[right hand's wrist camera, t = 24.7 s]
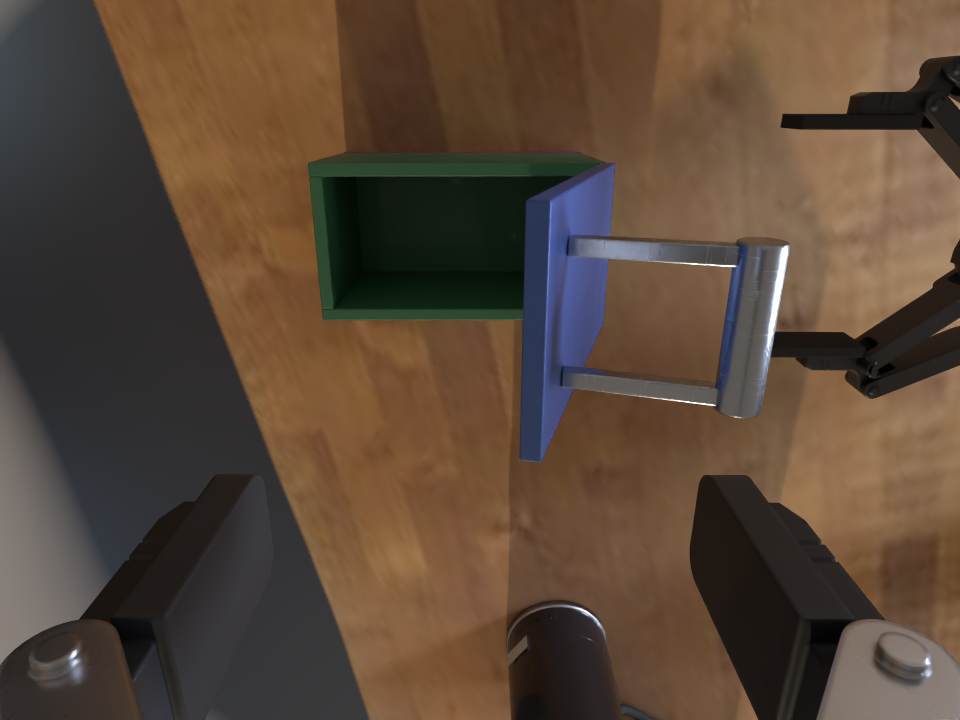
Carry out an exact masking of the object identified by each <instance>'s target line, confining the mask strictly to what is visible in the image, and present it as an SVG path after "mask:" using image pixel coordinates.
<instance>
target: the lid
mask: <svg viewBox="0 0 960 720" xmlns="http://www.w3.org/2000/svg"><path fill="white" fill-rule="evenodd" d="M614 174H615V164H614V163H600V164H598V165H596V166H594V167H592V168H590V169H588V170H586V171H584V172H582V173H580V174H578V175H576V176H574V177H572V178H570V179H568V180H566V181H564V182H562V183H560V184H558V185H556V186H554V187H552V188H550V189H548V190H546V191H544V192H542V193H540V194H538V195H536V196H534V197H532V198H530V199H528V200H527V201H526V215H525V256H524V297H523V338H522V380H521V421H520V459H521V460H525V461H531V462H537V463H541V461H542V459H543V457H544V455H545V453H546V450H547V448H548V446H549V444H550V441H551V439H552V437H553V435H554V432H555V430H556V428H557V426H558V424H559V421H560V419H561V417H562V415H563V412H564V410H565V408H566V406H567V403H568V401H569V399H570V397H571V394H572V392H573V390H574V389H581V390H589V391H597V392H605V393H614V394H622V395H630V396H638V397H646V398H655V399H663V400H671V401H679V402H687V403H695V404H704V405H712V406H713V407H714V409H715V410H716V411H718V412H719V413H721V414H724V415H726V416H730V417H734V418H754V417H756V416H758V415H759V414H760V413H761V408H762V403H763V397H764V391H765V386H766V380H767V374H768V369H769V363H770V357H771V352H772V346H773V340H774V335H775V329H776V323H777V318H778V312H779V306H780V301H781V295H782V289H783V284H784V278H785V272H786V267H787V261H788V255H789V250H790V243H788V242H786V241H783V240H779V239H773V238H763V237H747V238H741V239H738V240H737V241H736V243H729V242H710V241H690V240H671V239H652V238H633V237H614V236H610V229H611V215H612V202H613V188H614ZM608 259H614V260H630V261H646V262H662V263H678V264H694V265H710V266H726V267H732V274H731V281H730V288H729V294H728V301H727V308H726V315H725V322H724V329H723V336H722V343H721V349H720V356H719V363H718V370H717V377H716V382H707V381H698V380H689V379H681V378H672V377H663V376H654V375H645V374H636V373H627V372H618V371H609V370H600V369H591V368H584V365H585V363H586V361H587V359H588V356H589V354H590V352H591V350H592V347H593V345H594V343H595V341H596V339H597V336H598V334H599V332H600V330H601V327H602V325H603V323H604V311H605V298H606V284H607V270H608Z"/></svg>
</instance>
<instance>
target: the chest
mask: <svg viewBox="0 0 960 720" xmlns="http://www.w3.org/2000/svg"><path fill="white" fill-rule="evenodd" d="M600 163H606V162H603V161H600V160H598V159H595V158H592V157H590V156H587V155H584V154H581V153H580V152H345V153H343V154H339V155H335V156H332V157H328V158H324V159H321V160H317V161H313V162H309V163H308V170H309V176H311V177H310V178H309V179H310V190H311V200H312V211H313V221H314V232H315V242H316V252H317V263H318V273H319V284H320V294H321V305H322V308H323V309H322V315H323V320H523V297H524V256H525V215H526V201H527V200H528V199H530V198H532V197H534V196H536V195H538V194H540V193H542V192H544V191H546V190H548V189H550V188H552V187H554V186H556V185H558V184H560V183H562V182H564V181H566V180H568V179H570V178H572V177H574V176H576V175H578V174H580V173H582V172H584V171H586V170H588V169H590V168H592V167H594V166H596V165H598V164H600Z"/></svg>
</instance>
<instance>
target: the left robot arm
mask: <svg viewBox="0 0 960 720" xmlns="http://www.w3.org/2000/svg"><path fill="white" fill-rule="evenodd" d="M919 74H920V78H919V80H918V81H917V83H916V84H915V86H914V87H913V88H912V89H910V90H909V91H906V92H860V93H857V94H855V95H852V96H850V101H849V106H848V110H847V114H783V116H782V122H781V128H791V129H832V130H918V132H919V133H920V134H921V135H922V136H923V137H924V139H925V140H926V141H927V142H928V143H929V144H930V145H931V147H932V148H933V149H934V150H935V151H936V152H937V153H938V155H939V156H940V157H941V158H942V159H943V160H944V161H945V163H946V164H947V165H948V166H949V167H950V168H951V169H952V171H953V172H954V173H955V174H956V175H957V176H958V177H959V179H960V110H959V109H958V108H957V106H956V105H955V104H954V103H953V102H952V100H951V99H950V98H949V97H951V98H953V99H954V100H956V101H957V102H959V103H960V56H950V57H939V58H931V59H928V60H926V61H925V62H924V63H923V64H922V66H921V68H920V72H919ZM948 96H949V97H948ZM950 262H951V263H954V264H955V269H953V270H952V271H950V272H949V273H947V274H946V275H944V276H942V277H941V278H939V279H938V280H936V281H935V282H934V283H933V288H932V289H931V290H929V291H928V292H926V293H925V294H923V295H922V296H920V297H919V298H917V299H916V300H914V301H912V302H911V303H909V304H908V305H906V306H905V307H903V308H902V309H900V310H899V311H897V312H896V313H894V314H893V315H891V316H890V317H888V318H886V319H885V320H883V321H882V322H880V323H879V324H877V325H876V326H874V327H873V328H871V329H870V330H868V331H867V332H865V333H864V334H862V335H860V336H859V337H857V338H856V339H853V338H851V337H850V336H848V335H847V334H845V333H844V332H775V335H774V340H773V346H772V352H771V357H796V360H797V361H798V362H800V363H801V364H802V365H803V366H804V367H806V368H808V369H811V370H847V373H846V375H845V379H846V381H847V382H848V383H849V384H851V385H852V386H853V387H854V388H855V389H857V390H858V391H859V392H861V393H862V394H863V395H864V396H866V397H867V398H870V399H873V398H877V397H879V396H882V395H885V394H887V393H890V392H892V391H895V390H897V389H900V388H903V387H905V386H908V385H910V384H913V383H915V382H918V381H920V380H923V379H926V378H928V377H931V376H933V375H936V374H938V373H941V372H944V371H946V370H949V369H951V368H954V367H956V366H959V365H960V326H958V327H954V328H951V329H948V330H946V331H943V332H941V333H938V334H936V335H934V336H932V335H933V334H935V333H936V332H938V331H940V330H941V329H943V328H944V327H946V326H947V325H949V324H951V323H952V322H954V321H955V320H957V319H958V318H960V240H959V242H958V244H957V245H956V247H955V249H954V251H953V254H952V258H951V261H950ZM930 336H931V337H930Z"/></svg>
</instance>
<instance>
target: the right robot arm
mask: <svg viewBox="0 0 960 720" xmlns="http://www.w3.org/2000/svg"><path fill="white" fill-rule="evenodd" d="M272 563H273V540H272V533H271V526H270V519H269V512H268V505H267V499H266V492H265V485H264V481H263V479H262V477H261V475H259V474H217V475H215V476H214V477H213V478H212V480H211V481H210V482H209V484H208V485H207V486H206V488H205V489H204V490H203V492H202V493H201V494H200V496H199V497H198V498H197V500H196V501H195V502H183V503H182V504H180V505H179V506H177V507H176V508H175V509H173V510H172V511H170V512H169V513H167V514H166V515H164V516H163V517H161V518H160V519H159V520H158V521H157V522H156V523H155V525H154V526H153V527H152V529H151V530H150V531H149V532H148V534H147V535H146V536H145V537H144V538H143V543H140V544H139V545H138V546H137V547H136V549H135V550H134V551H133V552H132V554H131V555H130V558H129V561H125V562H124V564H123V565H122V566H121V567H120V569H119V570H118V571H117V572H116V574H115V575H114V576H113V577H112V579H111V580H110V581H109V582H108V584H107V585H106V586H105V587H104V589H103V590H102V591H101V592H100V594H99V595H98V596H97V597H96V599H95V600H94V601H93V602H92V604H91V605H90V606H89V608H88V609H87V610H86V611H85V613H84V614H83V615H82V616H81V618H80V619H79V620H75V621H70V622H66V623H63V624H60V625H57V626H54V627H51V628H49V629H47V630H44V631H42V632H40V633H39V634H37V635H35V636H33V637H31V638H30V639H28V640H27V641H25V642H24V643H22V644H21V645H20V646H19V647H17V648H16V649H15V650H14V651H13V652H12V653H11V654H10V655H8V657H7V658H6V659H5V660H4V661H3V662H2V664H1V665H0V720H205V718H206V716H207V714H208V712H209V710H210V707H211V705H212V703H213V701H214V699H215V696H216V694H217V692H218V690H219V687H220V685H221V683H222V681H223V679H224V677H225V675H226V672H227V670H228V668H229V666H230V663H231V661H232V659H233V657H234V655H235V653H236V650H237V648H238V646H239V644H240V642H241V639H242V637H243V635H244V633H245V631H246V628H247V626H248V624H249V622H250V620H251V617H252V615H253V613H254V611H255V609H256V607H257V604H258V602H259V600H260V598H261V595H262V593H263V591H264V589H265V587H266V585H267V582H268V580H269V577H270V574H271V570H272ZM690 564H691V570H692V574H693V578H694V581H695V583H696V585H697V588H698V590H699V592H700V594H701V596H702V598H703V601H704V603H705V605H706V607H707V609H708V611H709V614H710V616H711V618H712V620H713V622H714V624H715V627H716V629H717V631H718V633H719V635H720V637H721V640H722V642H723V644H724V646H725V648H726V650H727V653H728V655H729V657H730V659H731V661H732V663H733V666H734V668H735V670H736V672H737V674H738V676H739V679H740V681H741V683H742V685H743V687H744V689H745V692H746V694H747V696H748V698H749V700H750V702H751V705H752V707H753V709H754V711H755V713H756V715H757V718H758V720H960V665H959V664H958V662H957V661H956V660H955V659H954V658H953V656H952V655H950V654H949V653H948V652H947V651H946V650H945V649H944V648H943V647H941V646H940V645H939V644H938V643H936V642H935V641H933V640H932V639H930V638H929V637H927V636H925V635H923V634H921V633H920V632H918V631H916V630H913V629H911V628H909V627H906V626H903V625H900V624H897V623H894V622H890V621H885V619H884V618H883V617H882V616H881V614H880V613H879V612H878V611H877V609H876V608H875V607H874V606H873V604H872V603H871V602H870V601H869V599H868V598H867V597H866V596H865V594H864V593H863V592H862V591H861V589H860V588H859V587H858V586H857V584H856V583H855V582H854V581H853V579H852V578H851V577H850V576H849V574H848V573H847V572H846V571H845V570H844V568H843V567H842V566H841V565H840V563H839V562H835V557H834V556H833V555H832V553H831V552H830V551H829V550H828V548H827V547H826V546H825V545H822V544H821V540H820V538H819V537H818V536H817V535H816V533H815V532H814V531H813V530H812V528H811V527H810V526H809V525H808V523H807V522H806V521H805V520H804V519H802V518H801V517H799V516H798V515H796V514H795V513H793V512H792V511H790V510H789V509H788V508H786V507H785V506H783V505H782V504H780V503H768V501H767V500H766V499H765V497H764V496H763V494H762V493H761V492H760V490H759V489H758V488H757V486H756V485H755V484H754V482H753V481H752V480H751V479H750V478H749V477H748V476H746V475H704V476H703V477H702V478H701V480H700V483H699V488H698V494H697V501H696V508H695V515H694V522H693V529H692V535H691V542H690ZM506 648H507V654H508V655H507V661H508V666H509V689H510V707H511V720H624V717H623V715H626V716H629V717H631V718H634V719H636V720H654V719H652V718H651V717H649V716H647V715H646V714H644V713H642V712H640V711H638V710H636V709H634V708H632V707H629V706H627V705H624V704H620V697H619V693H618V689H617V685H616V681H615V679H614V675H613V671H612V667H611V662H610V657H609V653H608V649H607V645H606V636H605V632H604V628H603V625H602V623H601V622H600V620H599V619H598V617H597V616H596V615H595V614H594V613H593V612H592V611H590V610H589V609H587V608H586V607H584V606H582V605H579V604H576V603H573V602H568V601H547V602H542V603H539V604H536V605H533V606H531V607H529V608H527V609H525V610H524V611H523V612H521V613H520V614H519V615H518V616H517V617H516V618H515V619H514V620H513V621H512V623H511V625H510V627H509V629H508V631H507V636H506Z"/></svg>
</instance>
